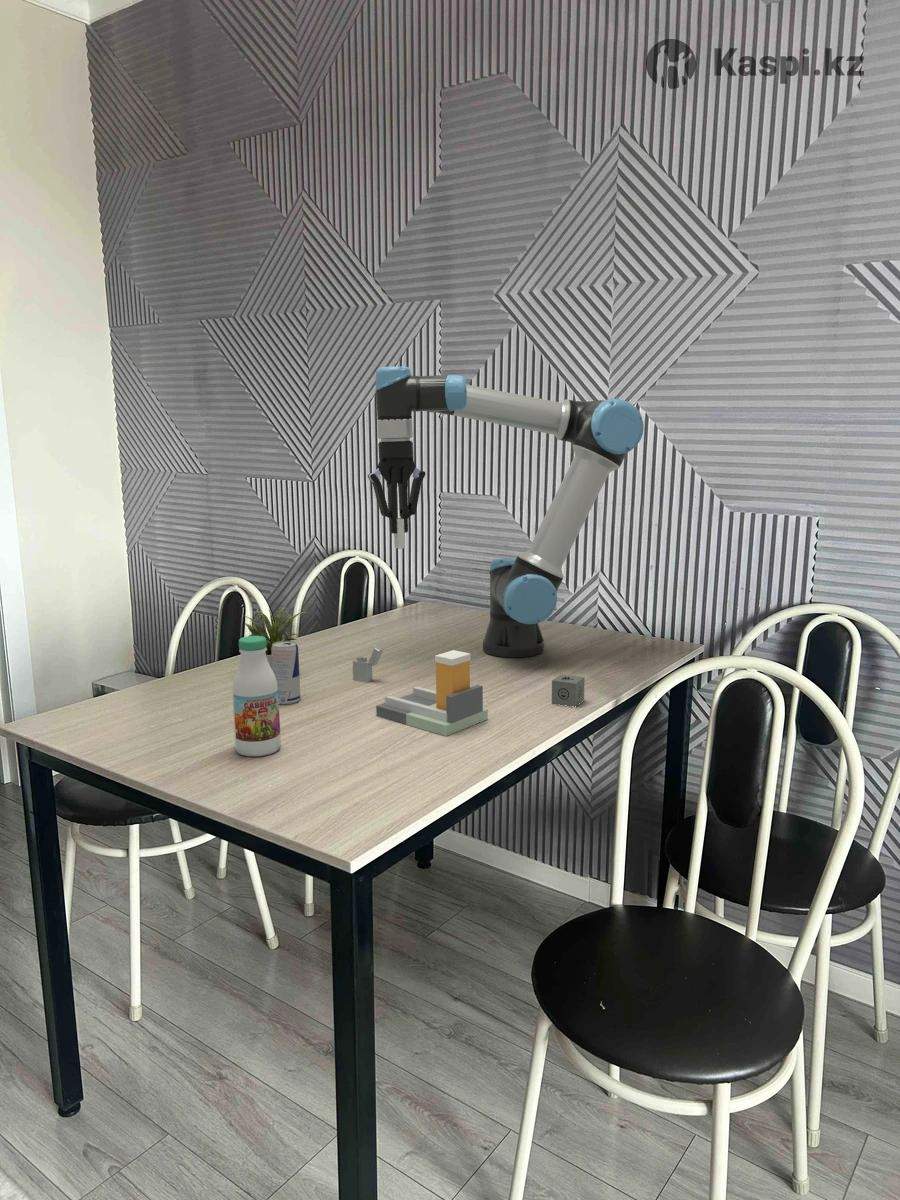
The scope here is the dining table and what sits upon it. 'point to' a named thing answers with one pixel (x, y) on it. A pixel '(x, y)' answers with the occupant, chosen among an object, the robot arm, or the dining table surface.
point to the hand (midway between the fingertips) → (399, 547)
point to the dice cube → (568, 690)
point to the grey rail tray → (436, 710)
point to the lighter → (366, 665)
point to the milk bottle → (255, 701)
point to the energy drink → (286, 671)
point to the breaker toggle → (451, 675)
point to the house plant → (272, 630)
